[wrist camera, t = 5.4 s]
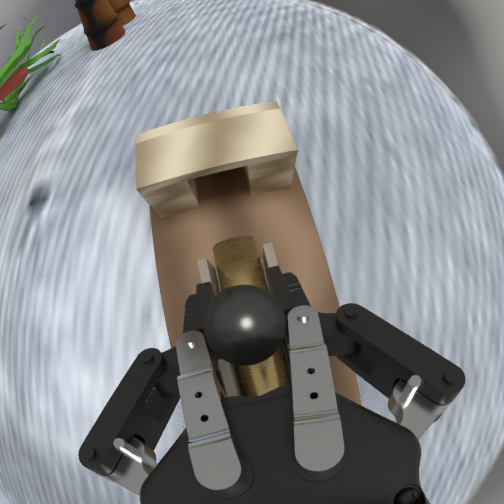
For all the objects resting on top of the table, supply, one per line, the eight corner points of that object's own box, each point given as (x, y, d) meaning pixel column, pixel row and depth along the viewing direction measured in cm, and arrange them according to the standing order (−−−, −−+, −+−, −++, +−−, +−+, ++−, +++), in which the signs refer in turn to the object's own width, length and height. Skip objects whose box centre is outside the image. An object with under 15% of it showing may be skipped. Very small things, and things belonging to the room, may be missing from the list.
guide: (208, 464, 18) (192, 502, 12) (150, 173, 26) (125, 134, 20) (362, 429, 19) (392, 457, 12) (282, 141, 26) (286, 95, 20)
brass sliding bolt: (262, 446, 17) (262, 530, 7) (216, 255, 21) (176, 191, 11) (302, 437, 17) (332, 515, 7) (255, 245, 22) (249, 172, 11)
